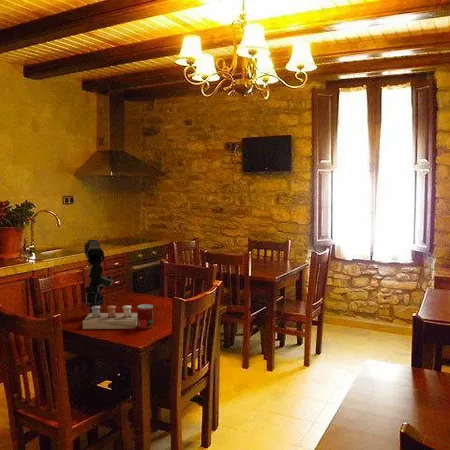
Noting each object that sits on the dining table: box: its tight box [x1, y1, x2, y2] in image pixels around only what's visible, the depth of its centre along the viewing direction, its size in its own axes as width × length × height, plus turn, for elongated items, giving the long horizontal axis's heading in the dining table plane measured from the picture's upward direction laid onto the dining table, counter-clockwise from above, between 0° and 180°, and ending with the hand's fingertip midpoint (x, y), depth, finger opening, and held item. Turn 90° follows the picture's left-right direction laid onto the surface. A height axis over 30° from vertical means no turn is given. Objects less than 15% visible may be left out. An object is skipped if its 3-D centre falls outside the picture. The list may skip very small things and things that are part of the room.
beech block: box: [82, 312, 138, 330], centre depth 235 cm, size 14×26×4 cm, turn 92°
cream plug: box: [122, 304, 133, 318], centre depth 235 cm, size 5×5×6 cm
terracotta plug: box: [106, 305, 117, 318], centre depth 234 cm, size 5×5×6 cm
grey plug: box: [91, 306, 101, 318], centre depth 234 cm, size 5×5×6 cm
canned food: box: [136, 303, 154, 330], centre depth 230 cm, size 8×8×11 cm
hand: (96, 302), depth 233 cm, fingers open, 9 cm apart
